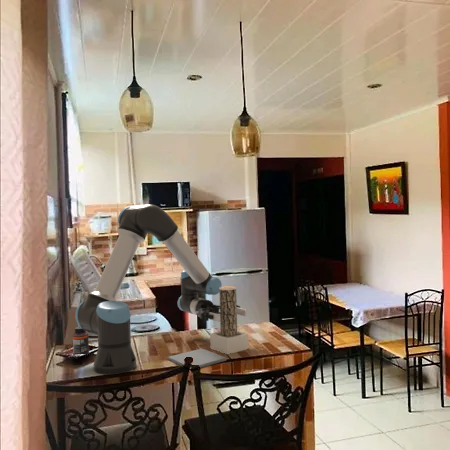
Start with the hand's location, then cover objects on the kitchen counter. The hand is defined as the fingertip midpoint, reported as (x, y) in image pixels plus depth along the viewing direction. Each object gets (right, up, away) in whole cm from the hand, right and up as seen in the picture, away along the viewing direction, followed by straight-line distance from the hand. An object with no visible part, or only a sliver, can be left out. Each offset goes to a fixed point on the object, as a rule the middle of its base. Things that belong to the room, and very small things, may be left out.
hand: (233, 315), depth 188 cm
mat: (-14, -15, -11) cm, 23 cm away
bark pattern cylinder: (-2, -14, +3) cm, 14 cm away
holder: (-2, -14, +3) cm, 14 cm away
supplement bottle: (-60, -16, -1) cm, 62 cm away
